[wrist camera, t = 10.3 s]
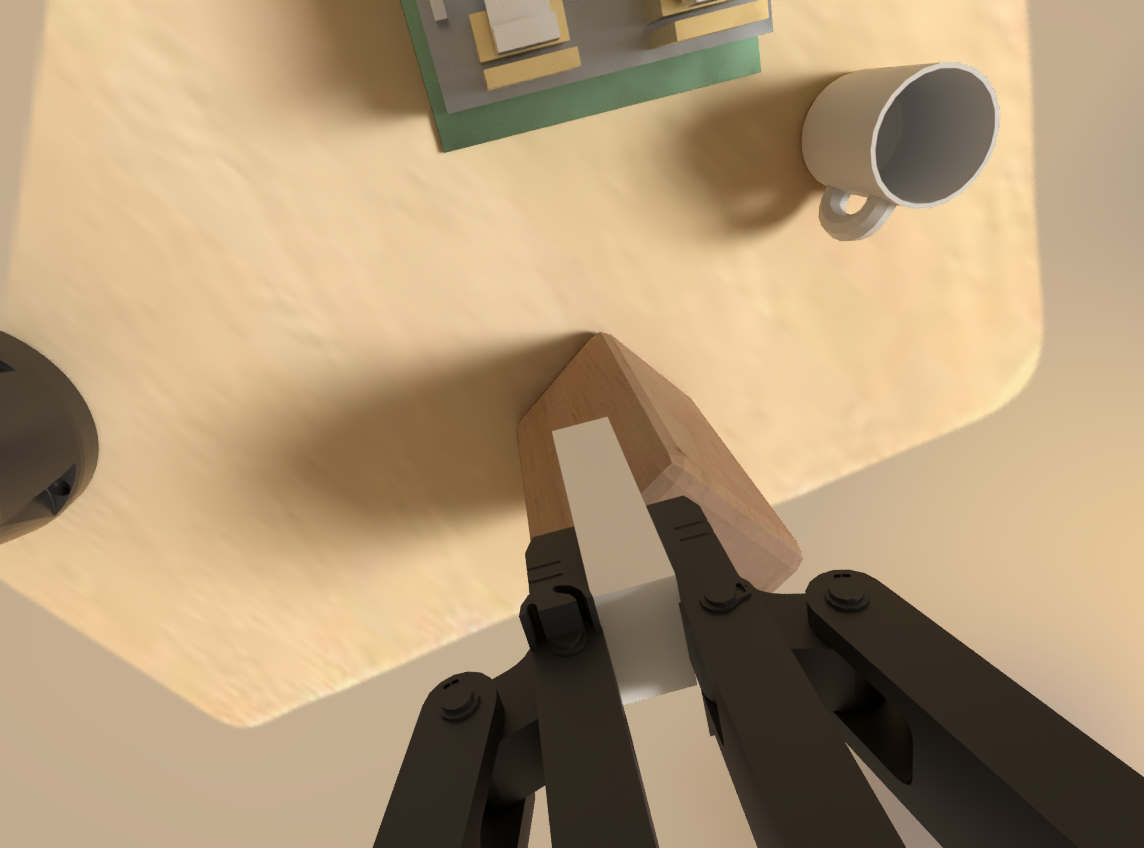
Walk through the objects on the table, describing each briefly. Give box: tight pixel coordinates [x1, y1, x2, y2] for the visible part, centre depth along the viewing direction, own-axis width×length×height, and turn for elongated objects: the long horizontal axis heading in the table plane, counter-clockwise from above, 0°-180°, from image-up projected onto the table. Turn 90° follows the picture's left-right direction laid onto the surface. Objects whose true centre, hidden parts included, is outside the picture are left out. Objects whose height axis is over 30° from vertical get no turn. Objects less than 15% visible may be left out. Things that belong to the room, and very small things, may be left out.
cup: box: [801, 62, 1000, 241], centre depth 40 cm, size 7×10×9 cm
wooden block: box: [517, 332, 803, 593], centre depth 41 cm, size 10×10×20 cm
